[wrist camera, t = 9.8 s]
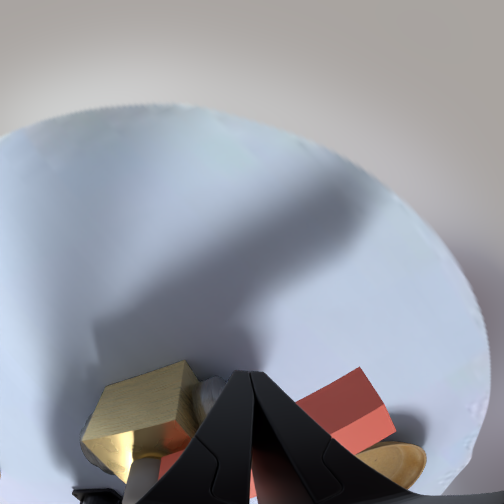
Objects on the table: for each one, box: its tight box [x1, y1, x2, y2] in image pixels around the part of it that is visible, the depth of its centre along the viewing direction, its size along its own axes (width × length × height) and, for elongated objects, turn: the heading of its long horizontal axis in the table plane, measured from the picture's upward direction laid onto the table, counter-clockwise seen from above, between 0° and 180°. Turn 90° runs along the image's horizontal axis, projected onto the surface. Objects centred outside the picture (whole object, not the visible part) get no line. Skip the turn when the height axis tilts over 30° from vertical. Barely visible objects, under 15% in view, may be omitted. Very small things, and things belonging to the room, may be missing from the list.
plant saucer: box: [355, 441, 427, 490], centre depth 25 cm, size 15×15×3 cm
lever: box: [122, 367, 396, 504], centre depth 14 cm, size 15×3×3 cm, turn 120°
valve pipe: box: [80, 360, 226, 483], centre depth 19 cm, size 13×7×6 cm, turn 113°
